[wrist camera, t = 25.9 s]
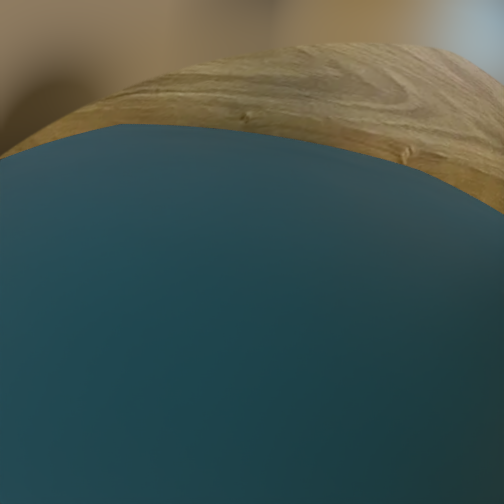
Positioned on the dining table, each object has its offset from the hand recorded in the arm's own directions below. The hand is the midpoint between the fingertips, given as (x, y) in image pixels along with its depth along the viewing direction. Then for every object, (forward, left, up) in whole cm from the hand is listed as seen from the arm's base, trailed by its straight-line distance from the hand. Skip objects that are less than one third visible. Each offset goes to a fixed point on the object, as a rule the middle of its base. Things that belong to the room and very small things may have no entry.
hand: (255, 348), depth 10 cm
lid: (-4, +5, +5) cm, 8 cm away
